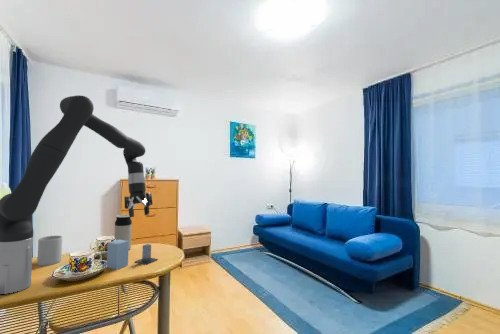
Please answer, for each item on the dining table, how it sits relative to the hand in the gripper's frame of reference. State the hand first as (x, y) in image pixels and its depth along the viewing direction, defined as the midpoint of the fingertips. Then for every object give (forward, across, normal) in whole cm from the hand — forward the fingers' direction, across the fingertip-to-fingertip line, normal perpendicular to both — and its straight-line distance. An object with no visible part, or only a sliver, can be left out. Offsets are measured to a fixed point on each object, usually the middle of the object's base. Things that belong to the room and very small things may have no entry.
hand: (139, 215), depth 121 cm
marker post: (+21, +3, -1) cm, 21 cm away
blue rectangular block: (+20, -4, -11) cm, 23 cm away
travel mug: (+16, -20, +9) cm, 27 cm away
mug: (+15, -37, -15) cm, 42 cm away
